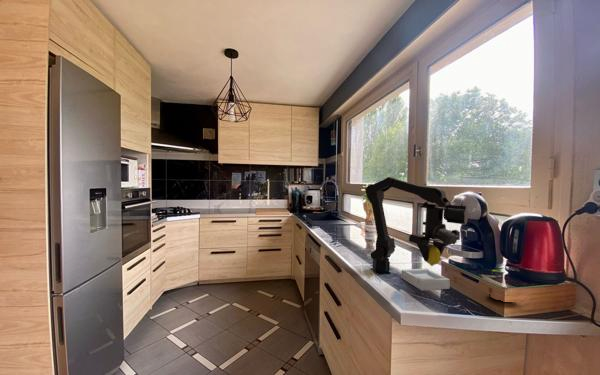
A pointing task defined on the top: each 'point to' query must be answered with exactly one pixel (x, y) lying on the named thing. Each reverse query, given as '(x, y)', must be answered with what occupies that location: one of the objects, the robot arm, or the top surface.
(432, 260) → the lemon
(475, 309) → the top surface
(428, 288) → the white square tray
